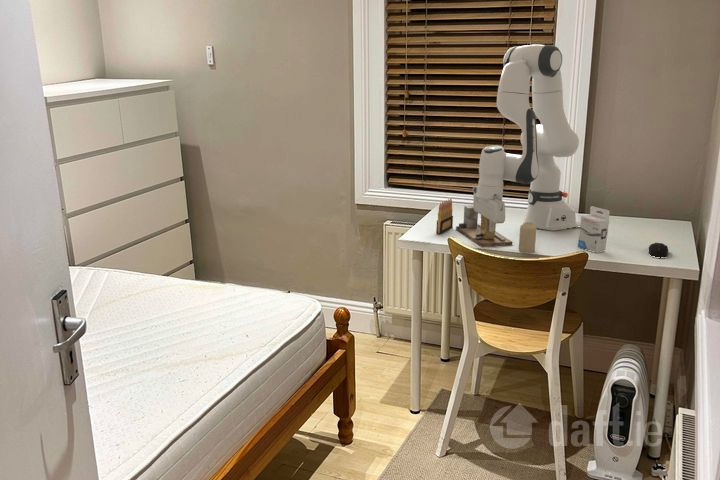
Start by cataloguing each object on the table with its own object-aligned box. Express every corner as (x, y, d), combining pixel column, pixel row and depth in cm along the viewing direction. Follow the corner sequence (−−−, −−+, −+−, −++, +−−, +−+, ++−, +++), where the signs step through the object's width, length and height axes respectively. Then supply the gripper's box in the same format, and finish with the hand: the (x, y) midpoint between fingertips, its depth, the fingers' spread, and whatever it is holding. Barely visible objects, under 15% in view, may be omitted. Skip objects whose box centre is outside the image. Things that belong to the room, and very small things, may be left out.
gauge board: (484, 227, 269) (486, 204, 266) (512, 244, 246) (514, 220, 244) (455, 229, 266) (457, 206, 263) (481, 247, 244) (482, 222, 241)
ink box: (576, 247, 244) (581, 207, 240) (586, 245, 247) (590, 205, 243) (596, 253, 237) (601, 212, 233) (605, 251, 240) (610, 210, 236)
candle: (524, 253, 237) (527, 225, 234) (515, 249, 242) (517, 221, 239) (537, 251, 239) (540, 223, 236) (528, 247, 244) (530, 220, 241)
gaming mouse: (647, 260, 232) (649, 249, 231) (648, 249, 245) (649, 238, 244) (668, 263, 229) (669, 251, 228) (667, 251, 243) (668, 240, 241)
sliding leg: (490, 235, 252) (491, 214, 250) (494, 238, 249) (496, 217, 246) (473, 236, 251) (475, 215, 248) (478, 239, 247) (479, 218, 245)
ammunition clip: (440, 234, 259) (441, 203, 256) (436, 233, 260) (437, 202, 256) (452, 228, 268) (454, 198, 264) (448, 227, 269) (449, 197, 265)
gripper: (511, 197, 236) (508, 236, 240) (486, 185, 255) (484, 221, 259) (494, 198, 235) (491, 237, 239) (471, 186, 254) (468, 222, 258)
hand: (487, 229), depth 249 cm, fingers closed on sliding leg, 4 cm apart
